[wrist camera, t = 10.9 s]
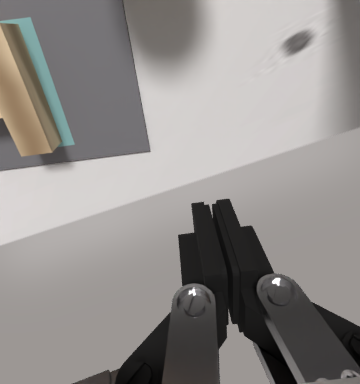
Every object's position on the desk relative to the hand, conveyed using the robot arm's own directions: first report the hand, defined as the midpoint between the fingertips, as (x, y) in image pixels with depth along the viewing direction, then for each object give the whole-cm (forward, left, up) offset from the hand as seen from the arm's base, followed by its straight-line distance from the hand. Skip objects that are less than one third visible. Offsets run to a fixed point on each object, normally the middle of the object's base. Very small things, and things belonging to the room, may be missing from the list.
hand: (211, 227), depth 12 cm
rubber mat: (+19, -3, -27) cm, 33 cm away
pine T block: (+23, -3, -27) cm, 35 cm away
